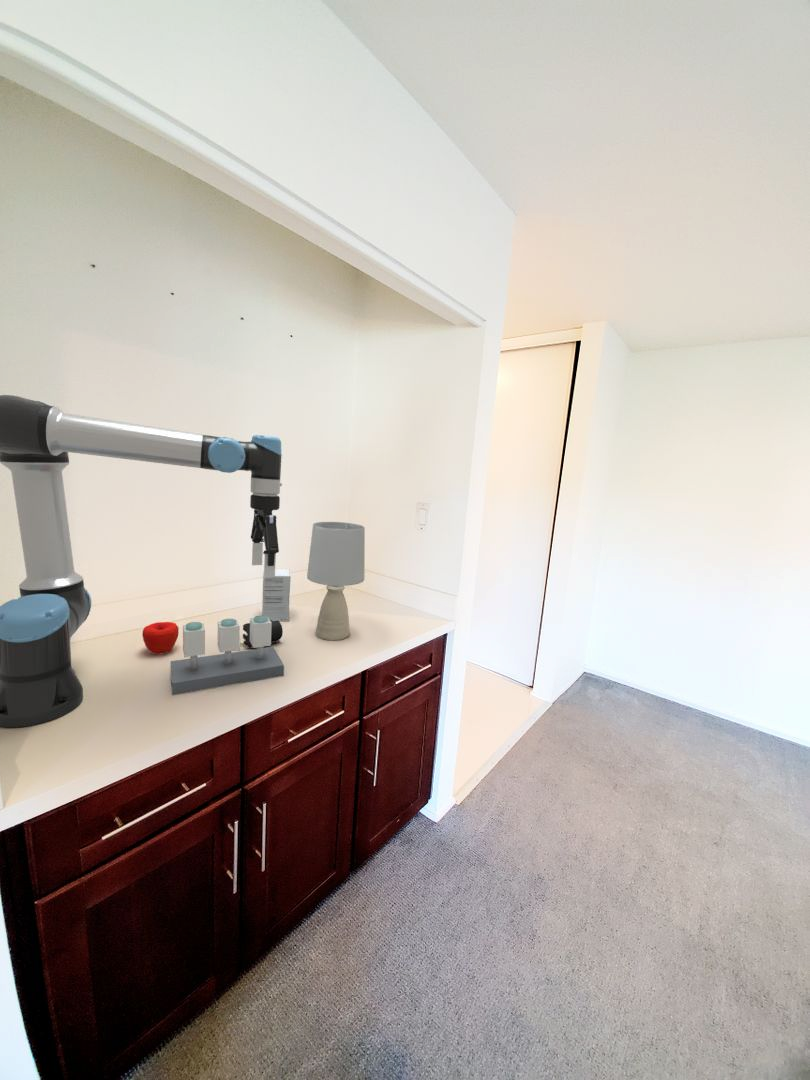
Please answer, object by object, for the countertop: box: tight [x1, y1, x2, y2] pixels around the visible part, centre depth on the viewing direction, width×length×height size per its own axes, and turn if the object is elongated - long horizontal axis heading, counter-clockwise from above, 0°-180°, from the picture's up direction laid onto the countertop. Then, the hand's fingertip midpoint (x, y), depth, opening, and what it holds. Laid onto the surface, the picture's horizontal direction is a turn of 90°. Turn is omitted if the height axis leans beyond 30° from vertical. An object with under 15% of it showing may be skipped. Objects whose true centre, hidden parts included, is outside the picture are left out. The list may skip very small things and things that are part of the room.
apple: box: [141, 621, 179, 655], centre depth 120 cm, size 9×9×8 cm
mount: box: [170, 646, 285, 696], centre depth 111 cm, size 26×12×8 cm, turn 120°
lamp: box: [306, 521, 366, 641], centre depth 139 cm, size 19×19×37 cm
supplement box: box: [261, 568, 291, 622], centre depth 152 cm, size 10×9×17 cm
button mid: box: [217, 618, 241, 653], centre depth 109 cm, size 5×5×7 cm
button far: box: [249, 614, 272, 649], centre depth 113 cm, size 5×5×7 cm
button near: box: [182, 621, 206, 658], centre depth 105 cm, size 5×5×7 cm
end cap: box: [242, 620, 284, 649], centre depth 130 cm, size 10×7×7 cm
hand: (262, 570), depth 118 cm, fingers open, 13 cm apart
